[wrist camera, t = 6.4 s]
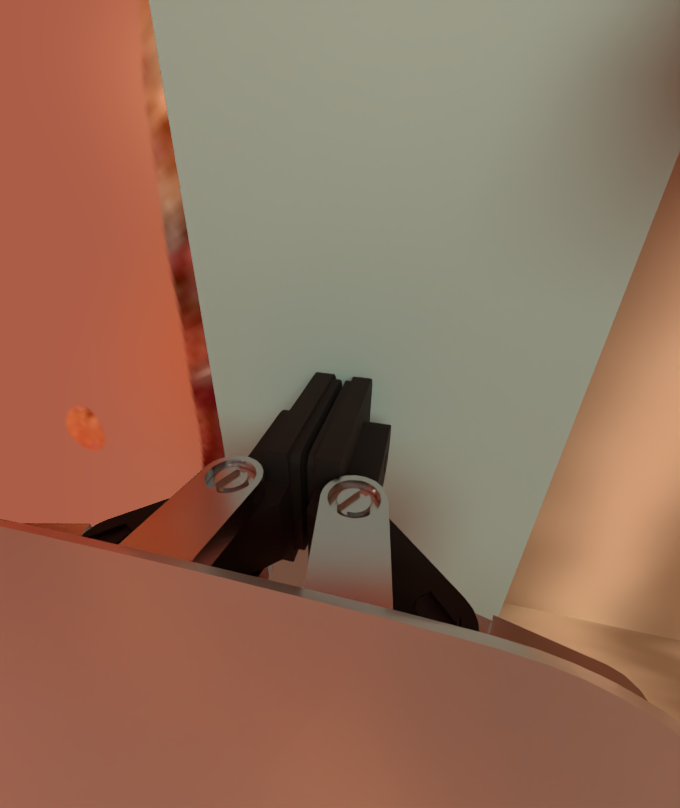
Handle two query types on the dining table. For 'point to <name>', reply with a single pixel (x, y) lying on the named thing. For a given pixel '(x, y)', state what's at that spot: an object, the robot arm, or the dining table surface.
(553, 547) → the wooden tray crate
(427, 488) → the panel
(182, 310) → the dining table surface
